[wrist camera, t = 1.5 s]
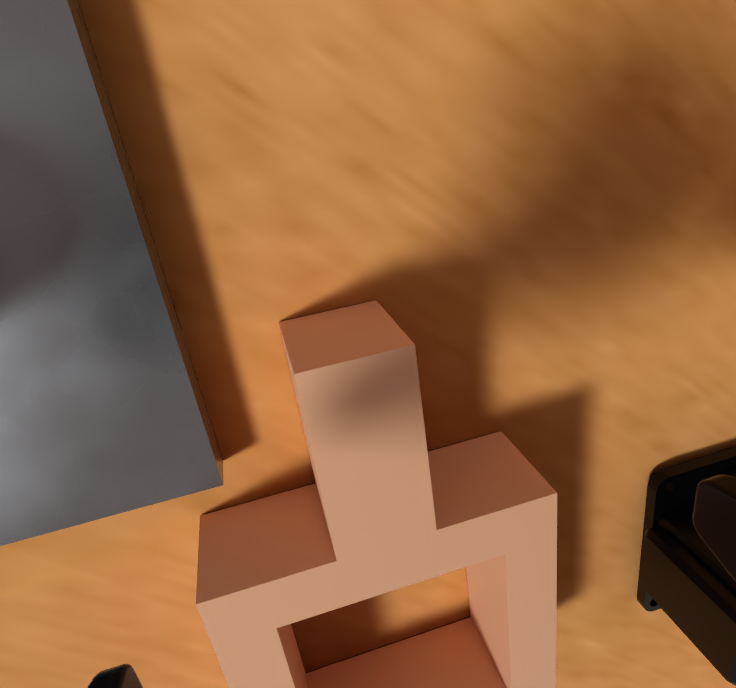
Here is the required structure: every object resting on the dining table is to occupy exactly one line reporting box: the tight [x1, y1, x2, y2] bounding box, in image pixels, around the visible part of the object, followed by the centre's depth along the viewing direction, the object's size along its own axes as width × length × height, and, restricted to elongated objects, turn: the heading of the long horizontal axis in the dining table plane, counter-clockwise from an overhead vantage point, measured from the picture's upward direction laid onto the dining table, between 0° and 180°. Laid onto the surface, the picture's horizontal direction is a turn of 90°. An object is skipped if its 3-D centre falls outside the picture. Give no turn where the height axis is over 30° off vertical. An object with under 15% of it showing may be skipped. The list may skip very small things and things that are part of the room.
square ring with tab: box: [196, 300, 557, 688], centre depth 15 cm, size 9×14×3 cm, turn 9°
